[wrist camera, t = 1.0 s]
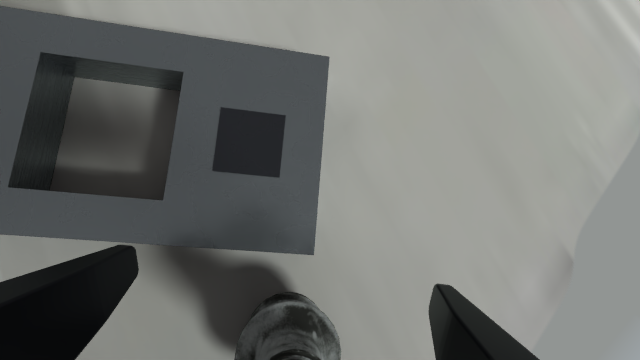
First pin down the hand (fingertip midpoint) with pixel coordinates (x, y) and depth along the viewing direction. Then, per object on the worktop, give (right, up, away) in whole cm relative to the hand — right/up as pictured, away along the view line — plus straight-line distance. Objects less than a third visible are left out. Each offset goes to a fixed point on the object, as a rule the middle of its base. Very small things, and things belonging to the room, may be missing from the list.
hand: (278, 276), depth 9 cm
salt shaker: (-1, -7, +11) cm, 14 cm away
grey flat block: (-9, +5, +12) cm, 16 cm away
